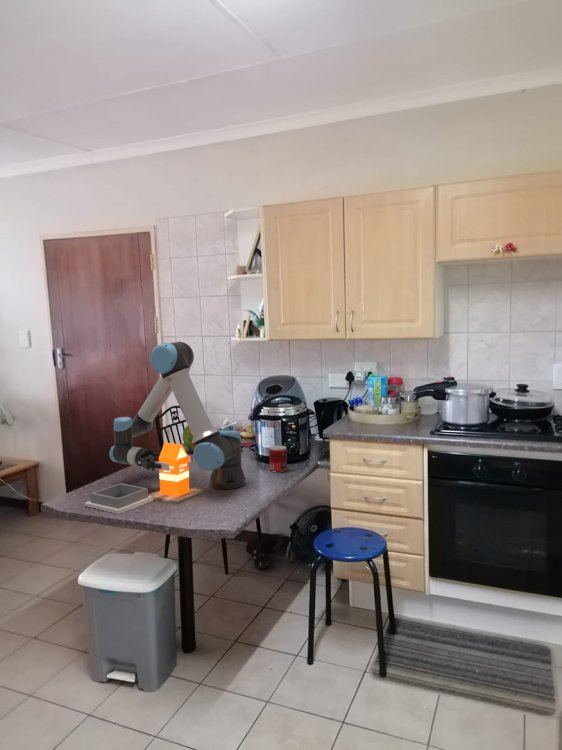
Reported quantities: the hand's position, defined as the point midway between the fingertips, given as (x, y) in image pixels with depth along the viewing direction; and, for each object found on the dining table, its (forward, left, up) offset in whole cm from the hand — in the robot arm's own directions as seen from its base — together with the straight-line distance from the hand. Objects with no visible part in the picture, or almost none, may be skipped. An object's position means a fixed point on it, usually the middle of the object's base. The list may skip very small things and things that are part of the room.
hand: (180, 463), depth 224 cm
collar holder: (+15, +18, -14) cm, 27 cm away
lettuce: (+43, -67, -14) cm, 81 cm away
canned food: (-15, -50, -14) cm, 54 cm away
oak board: (+3, 0, -14) cm, 14 cm away
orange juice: (+4, 0, -13) cm, 13 cm away
